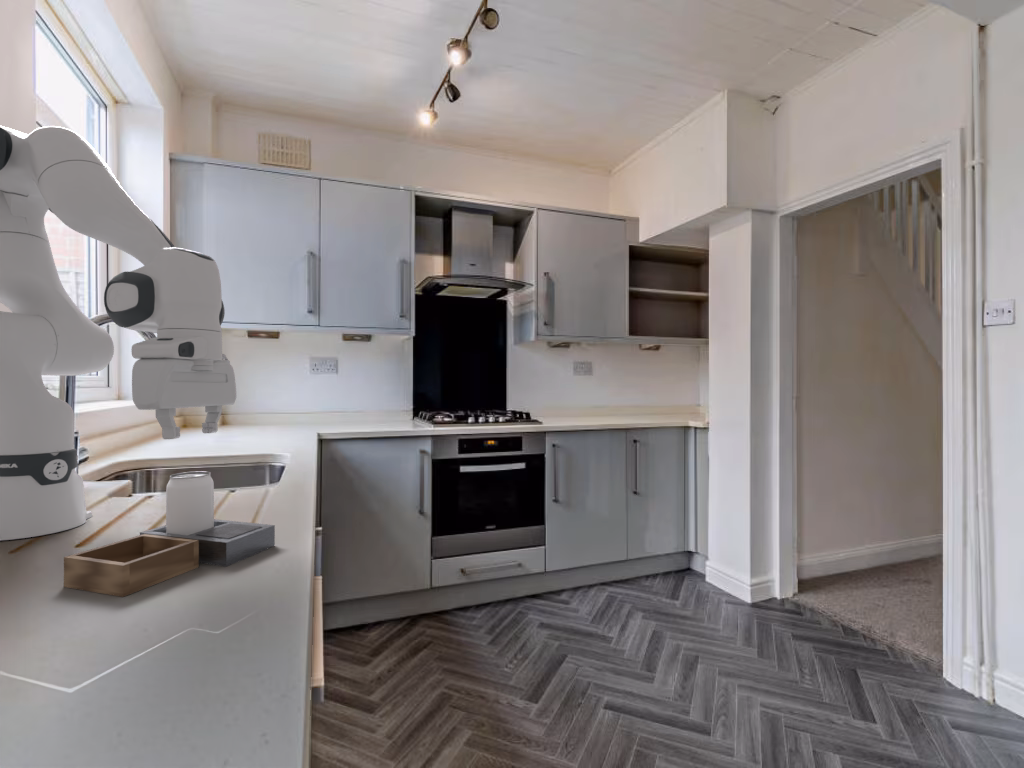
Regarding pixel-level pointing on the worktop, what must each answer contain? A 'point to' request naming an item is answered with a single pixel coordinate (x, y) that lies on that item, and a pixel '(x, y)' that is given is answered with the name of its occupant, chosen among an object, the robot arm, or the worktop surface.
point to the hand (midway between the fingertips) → (191, 435)
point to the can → (189, 503)
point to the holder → (130, 564)
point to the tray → (227, 541)
